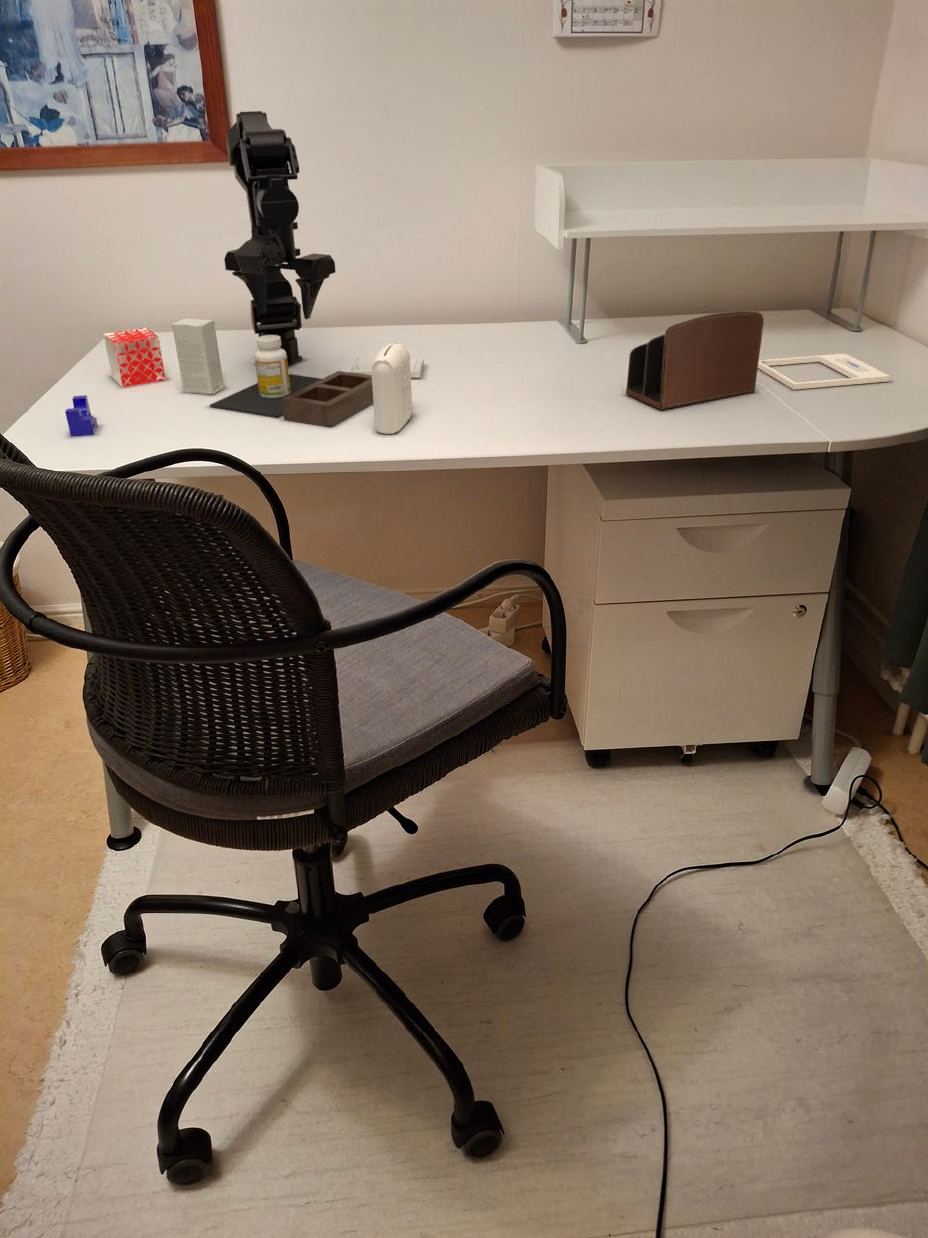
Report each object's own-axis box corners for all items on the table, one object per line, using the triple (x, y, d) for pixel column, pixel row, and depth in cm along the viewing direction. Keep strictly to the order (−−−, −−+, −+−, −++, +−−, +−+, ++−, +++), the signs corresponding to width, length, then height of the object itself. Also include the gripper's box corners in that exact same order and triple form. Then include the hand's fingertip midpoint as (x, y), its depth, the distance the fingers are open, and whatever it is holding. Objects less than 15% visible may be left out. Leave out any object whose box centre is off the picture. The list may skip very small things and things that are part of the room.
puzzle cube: (166, 380, 176) (158, 336, 172) (122, 387, 173) (113, 343, 169) (154, 369, 182) (146, 327, 178) (112, 376, 179) (103, 333, 175)
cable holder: (94, 434, 152) (88, 410, 150) (71, 436, 151) (65, 411, 149) (101, 418, 158) (96, 394, 156) (79, 419, 158) (73, 396, 156)
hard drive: (351, 370, 173) (420, 369, 173) (357, 358, 180) (423, 357, 180) (352, 379, 174) (420, 379, 174) (358, 366, 181) (423, 365, 181)
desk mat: (210, 407, 162) (209, 404, 162) (279, 374, 178) (279, 372, 177) (278, 417, 157) (277, 415, 157) (344, 383, 172) (343, 381, 172)
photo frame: (890, 374, 166) (794, 382, 163) (889, 381, 167) (793, 389, 164) (845, 352, 179) (755, 359, 176) (844, 358, 179) (754, 365, 176)
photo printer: (390, 412, 158) (385, 336, 152) (415, 414, 157) (412, 337, 151) (372, 434, 149) (366, 354, 143) (398, 435, 149) (394, 355, 142)
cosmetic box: (225, 388, 171) (215, 319, 165) (212, 395, 168) (201, 325, 162) (196, 385, 173) (184, 317, 167) (182, 392, 170) (170, 323, 163)
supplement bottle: (275, 387, 170) (268, 331, 165) (297, 392, 167) (291, 336, 162) (253, 395, 166) (245, 339, 161) (275, 401, 163) (268, 343, 158)
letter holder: (755, 392, 163) (767, 307, 156) (660, 411, 156) (668, 323, 149) (717, 377, 171) (726, 295, 164) (625, 395, 164) (630, 310, 156)
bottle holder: (283, 419, 156) (281, 398, 154) (339, 390, 169) (338, 370, 167) (331, 427, 152) (329, 405, 151) (385, 396, 165) (383, 376, 163)
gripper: (195, 221, 152) (210, 321, 161) (291, 228, 145) (302, 333, 153) (240, 211, 161) (252, 306, 169) (333, 217, 153) (341, 317, 161)
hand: (284, 315), depth 163 cm, fingers open, 9 cm apart
